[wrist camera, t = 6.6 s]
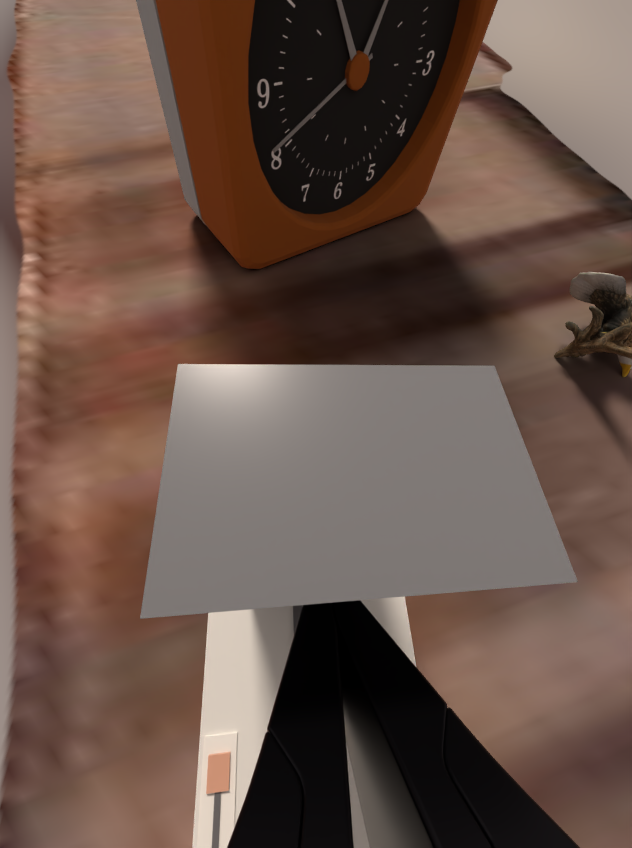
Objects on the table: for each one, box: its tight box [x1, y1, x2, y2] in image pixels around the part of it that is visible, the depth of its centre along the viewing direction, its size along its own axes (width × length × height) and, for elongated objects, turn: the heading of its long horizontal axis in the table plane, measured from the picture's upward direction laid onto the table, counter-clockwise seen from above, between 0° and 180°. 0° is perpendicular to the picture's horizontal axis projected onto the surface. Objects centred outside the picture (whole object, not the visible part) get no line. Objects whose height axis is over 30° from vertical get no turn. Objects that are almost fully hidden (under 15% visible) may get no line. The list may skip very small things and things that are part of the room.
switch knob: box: [140, 364, 578, 619], centre depth 9 cm, size 4×6×10 cm, turn 94°
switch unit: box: [192, 596, 416, 848], centre depth 11 cm, size 18×8×3 cm, turn 4°
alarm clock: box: [136, 0, 498, 269], centre depth 18 cm, size 18×9×21 cm, turn 126°
